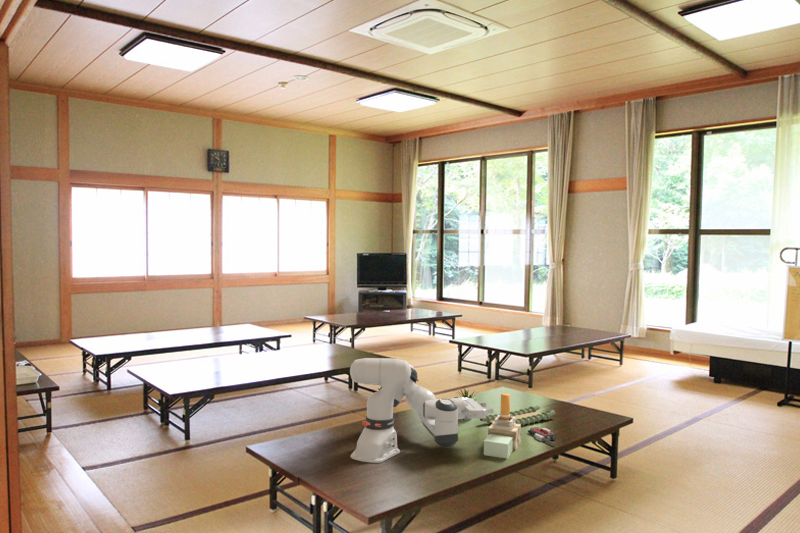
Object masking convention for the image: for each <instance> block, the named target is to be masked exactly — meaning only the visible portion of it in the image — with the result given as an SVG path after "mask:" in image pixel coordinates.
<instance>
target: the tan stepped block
mask: <svg viewBox="0 0 800 533" xmlns="http://www.w3.org/2000/svg"><path fill="white" fill-rule="evenodd" d="M497 415H498V416H497V417H496V418H495V420H494V422H493V423H491V424H490V425H489V427H488V428H487V436H488V435H489V434H495V435H502V436H509V437H513V451H516V450H517V449H518V447H519V446H520V444H521V442H522V441H521V439H522V438H521V436H522V425H521V424H516V423H515V417H510V421H507V420H500V415H499V414H497Z"/></svg>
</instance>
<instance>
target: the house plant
mask: <svg viewBox="0 0 800 533" xmlns="http://www.w3.org/2000/svg"><path fill="white" fill-rule="evenodd" d="M457 388H458V389H459V390H460V391H458V392H457V394H458V396H460V397H459V398H472V399H473V398H474V396H476V395H477V394H479V393H480V391H479V392H478V391H477V392H476V393H475V390H476V389H475V390H473V391H472V393H470V395H469V391H470V390H469V389H468V390H466V388H465V387H463V390H464V392H463V390H462V389H461V388H460V387H457ZM453 392H456V390H453ZM473 400H474V401H476V402H479V401H478V400H476V399H473ZM471 419H472V420H473V418H469V417H468V416H465V418H464V420H463V421H472V420H471Z"/></svg>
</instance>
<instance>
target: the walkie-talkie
mask: <svg viewBox="0 0 800 533" xmlns="http://www.w3.org/2000/svg"><path fill="white" fill-rule="evenodd" d="M527 432H528V433H529V435H531V436H533V437H535V439H536V440H537V441H539V442H546V443H547V444H549V445H550V444H551V445H552V446H553V445H554V446H556V443H555V442H553V441H556V439H557V438H556V437H557V434H556V433H554V432H552V430H551V429H548V428H546V427H542V426H535V427H530V428H529V429H528V430H527Z"/></svg>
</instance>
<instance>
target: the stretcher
mask: <svg viewBox="0 0 800 533" xmlns="http://www.w3.org/2000/svg"><path fill="white" fill-rule="evenodd" d="M540 409H541V407H540V405H535V406H532V405H531V406H529V407H528V408H527V407H525V408H524V409H523V408H521V409H519V410H515V411H511V410H510V417H515V423H516V424H521V427H524V426H525V425H530V424H535V423H536V422H537V423H539V422H540V421H545V420H546V419H547V420H548V419H550V417H551V416H553V415H555V414H556V411H555V410H554V409H551V410H546V411H543V412H538V411H539V410H540ZM498 415H500V413H498V414H497V413H496V414H489V415H488V414H486V418H483V419H479V421H480V422H486V423H487V424H490V423H491V424H492V423H493V422H494V420H495V418H496V417H497V416H498Z"/></svg>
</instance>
